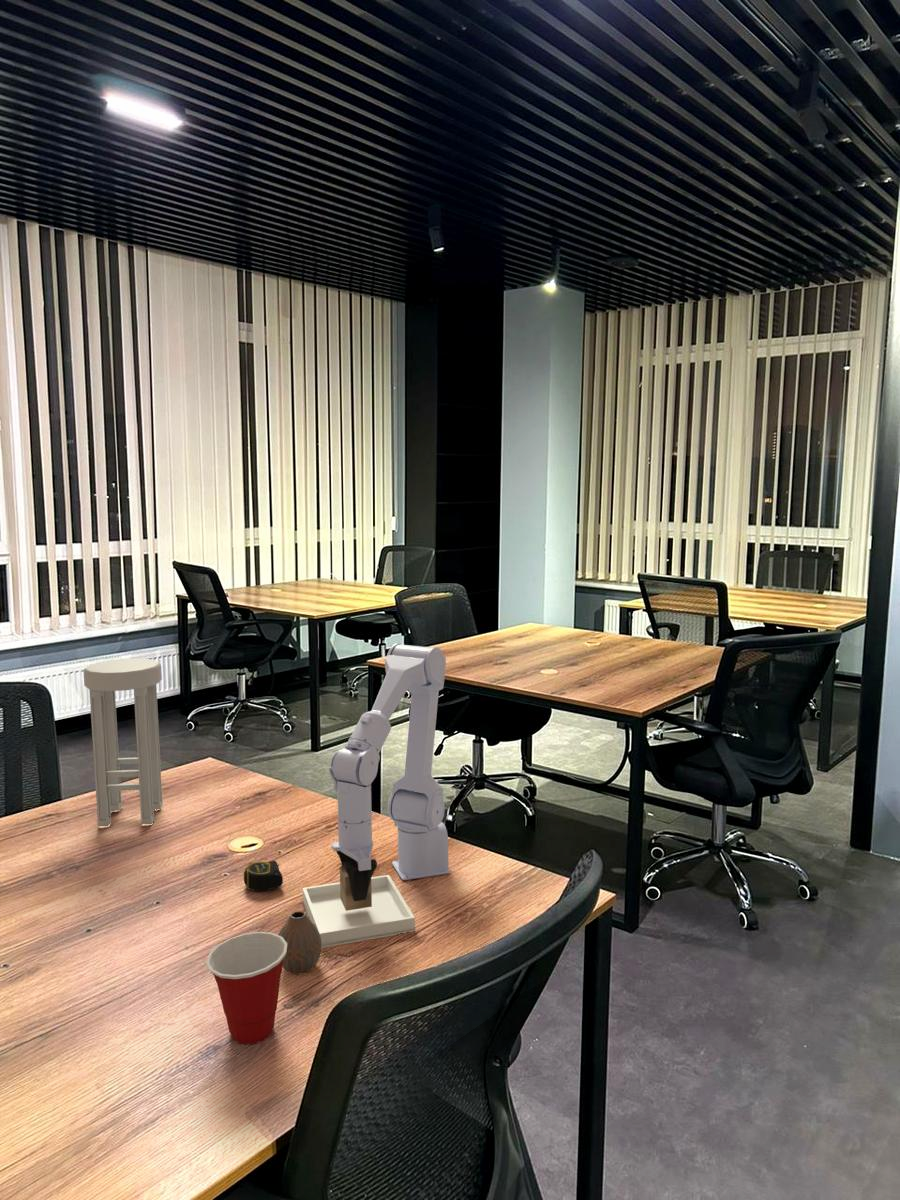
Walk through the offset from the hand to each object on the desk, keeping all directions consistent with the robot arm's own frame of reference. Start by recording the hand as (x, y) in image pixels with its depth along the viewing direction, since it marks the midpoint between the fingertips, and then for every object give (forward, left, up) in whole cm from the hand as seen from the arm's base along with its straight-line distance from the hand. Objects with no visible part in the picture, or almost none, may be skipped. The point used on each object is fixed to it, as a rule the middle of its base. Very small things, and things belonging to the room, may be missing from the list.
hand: (356, 892), depth 153 cm
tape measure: (+13, -17, -5) cm, 22 cm away
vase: (+12, +13, -4) cm, 18 cm away
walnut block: (0, 0, -2) cm, 2 cm away
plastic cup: (+21, +27, -4) cm, 34 cm away
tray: (0, 0, -4) cm, 4 cm away
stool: (+38, -61, -4) cm, 72 cm away
